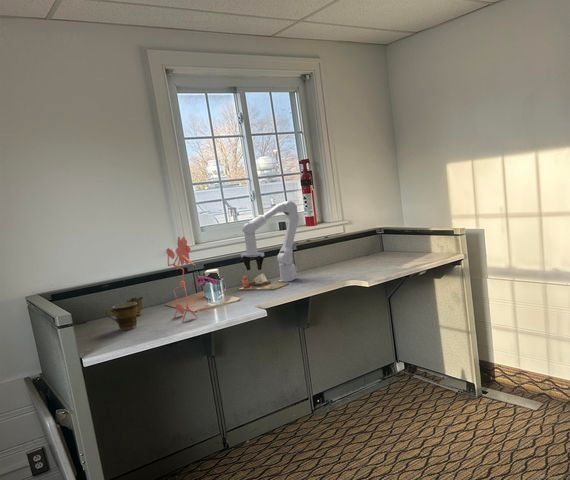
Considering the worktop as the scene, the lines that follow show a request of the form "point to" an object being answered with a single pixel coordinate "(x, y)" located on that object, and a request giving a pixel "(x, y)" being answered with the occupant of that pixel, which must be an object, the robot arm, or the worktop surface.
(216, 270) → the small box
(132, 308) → the ceramic cup
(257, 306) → the worktop surface
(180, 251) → the figurine
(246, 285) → the pawn
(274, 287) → the board
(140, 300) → the cup
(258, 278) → the die
